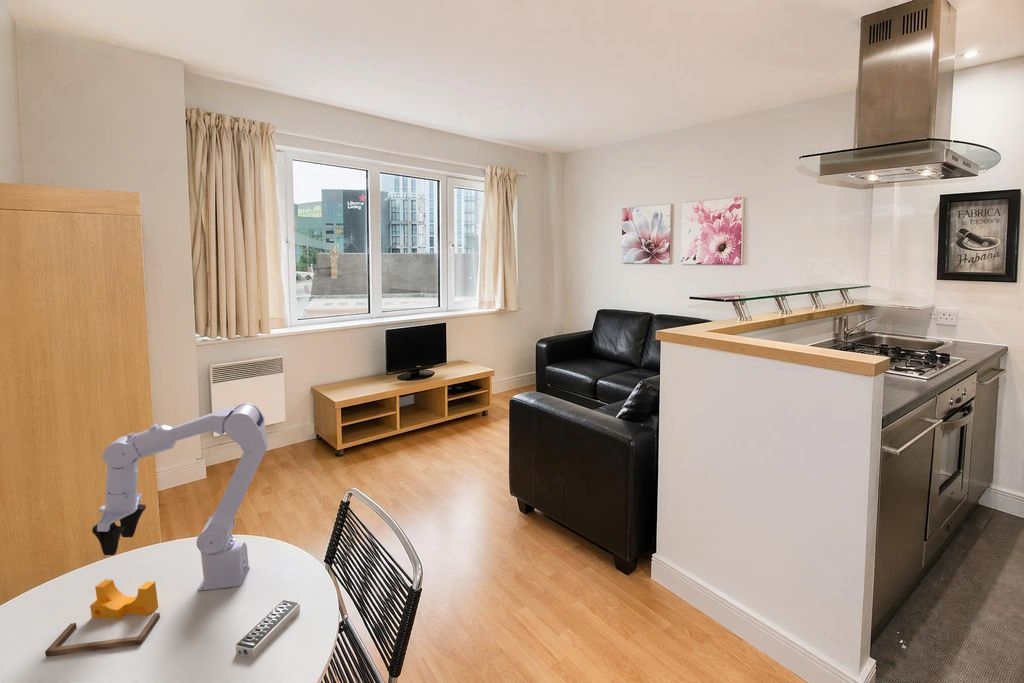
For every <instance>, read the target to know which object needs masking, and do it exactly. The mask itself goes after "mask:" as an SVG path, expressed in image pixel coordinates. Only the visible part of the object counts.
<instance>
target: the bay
mask: <svg viewBox="0 0 1024 683" xmlns="http://www.w3.org/2000/svg"><path fill="white" fill-rule="evenodd" d="M160 618H161V613H160V612H154V613H153V615H152V616H151V617H150V619H149V620H148V622H147V623H146V624H145V626H144V627H143V629H142V630H141V631H140V633H139V634H138V635H137V636H129V637H122V638H115V639H105V640H97V641H90V642H89V641H88V642H84V643H75V644H69V645H66V644H65V645H63V644H64V643H65V642H66V641H67V640H68V639H69V637H70V636H71V635H72V634H73V633H75V630H77V623H76V622H73V623H70V624H69V625H67V627H66V628H65V629H64V630H63V631H62V632H61V633H60V635H58V637H57V638H56V639H55V640H54V641H53V642H52V643H51V645H50V646H49V647H48V648H47V649H45V651H44V653H45V658H47V657H48V658H49V657H53V656H56V657H57V656H62V655H63V656H64V655H70V654H77V653H78V654H80V653H86V652H93V651H100V650H101V651H102V650H108V649H116V648H124V647H132V646H138V645H143V643H144V642H145V640H146V639H147V637H148V636H149V635H150V633H151V632H152V630H153V629H154V627H155V626H156V624H157V623H158V622H159V619H160Z"/></svg>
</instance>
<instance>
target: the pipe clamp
mask: <svg viewBox="0 0 1024 683" xmlns="http://www.w3.org/2000/svg"><path fill="white" fill-rule="evenodd" d="M94 589H95V594H96V600H95V601H93V602H92V603H91V604H90V605H89V606H90V607H89V608H90V614H91V618H92V619H108V620H109V619H111V620H120V619H122V618H123V617H124V616H125V615H139V616H140V615H142V616H145V615H146V616H150V615H152V613H153V612H154V613H155V611H156V610H157V609H158V608H159V602H158V592H157V586H156V581H145V582H144V583H143V584H142V585H140V587H138V588H137V596H129V595H126V594H123V593H122V592H121V591H120V590H119V589H118V588H117V587H116V584H115V582H114V580H113V579H107V578H105V579H104V580H102V581H101V582H100V583H98V584H97V585H95V586H94Z"/></svg>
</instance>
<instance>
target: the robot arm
mask: <svg viewBox="0 0 1024 683" xmlns="http://www.w3.org/2000/svg"><path fill="white" fill-rule="evenodd" d="M265 425H266V424H265V416H264V414H263V413H262V412H261V410H260V408H258V407H257V405H255V404H253V403H250V402H246V403H245V402H244V403H241V404H238V405H237V406H235V405H233V406H228V407H225V408H222V409H220V410H216V411H213V412H211V413H209V414H206V415H203V416H200V417H198V418H194V419H192V420H189V421H186V422H184V423H181V424H177V425H175V426H170V425H167V424H161V425H159V424H158V423H156V424H154V425H151V426H149V429H147V430H142V431H141V432H137V433H134V432H130V433H128V434H127V435H122V436H121V437H119V438H117V439H116V440H114V441H113V442H111V443H110V444H109V445H108V446H106V448H105V449H104V450H103V452H102V460H103V462H104V463H105V465H106V479H105V503H104V505H102V506H100V507H99V508H98V512H99V513H102V514H101V517H100V520H99V521H98V522H97V523H96V524H95V525H94V526H92V528H91V529H92V530H91V532H92V534H93V535H94V536H95V538H97V541H98V542H99V544H100V546H101V550H102V553H103V556H115V555H116V554H117V552H118V548H119V542H120V537H122V538H133V537H134V535H135V533H136V530H137V527H138V523H139V520H140V519H141V517H142V514H143V513H144V511H145V509H146V508H147V506H146V504H142V496H143V495H142V493H138V482H139V481H138V479H139V478H138V477H139V476H138V475H139V459H144V458H147V457H149V456H152V455H156V454H159V453H161V452H165V451H167V450H171V449H173V448H175V445H176V443H177V441H182V440H185V439H188V438H191V437H194V436H198V435H201V434H204V433H208V432H213V433H216V434H218V435H220V436H223V435H224V434H226V435H227V436H228V437H229V438H230V439H231V440H232V441H233V442H235V443H236V444H238V445H239V447H240V448H241V450H242V451H243V453H242V454H241V457H240V458H239V462H238V463H237V465H236V468H235V470H234V472H233V474H232V476H231V478H230V480H229V482H228V484H227V486H226V489H225V491H224V493H223V495H222V497H221V498H220V502H219V503H218V505H217V508H216V509H215V512H213V514H212V515H210V516H209V517H208V519H207V520H206V524H205V525H204V527H203V528H202V530H201V532H200V534H198V536H197V538H196V547H197V549H198V550H199V551H200V557H201V565H202V566H201V568H202V575H203V579H202V581H201V582H200V584H199V586H198V587H197V591H199V592H201V591H209V590H219V589H226V588H233V587H234V588H235V587H240V586H241V585H242V583H243V582H244V580H245V578H246V576H247V574H248V572H249V570H250V565H249V557H248V546H247V544H246V542H243V541H242V542H240V541H236V540H235V538H234V536H233V534H232V531H233V530H234V527H235V524H236V522H235V521H236V520H235V517H236V515H237V513H238V510H239V508H240V506H241V504H242V502H243V500H244V497H245V496H246V493H247V491H248V489H249V487H250V485H251V484H252V481H253V479H254V477H255V475H256V472H257V471H258V468H259V466H260V464H261V462H262V460H263V458H264V455H265V453H266V452H267V449H268V447H269V442H268V435H267V432H266V426H265ZM140 503H141V504H140ZM117 521H119V522H120V525H117V523H116V522H117Z"/></svg>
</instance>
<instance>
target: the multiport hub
mask: <svg viewBox="0 0 1024 683" xmlns="http://www.w3.org/2000/svg"><path fill="white" fill-rule="evenodd" d="M300 604H301V603H300V602H297V601H292V600H288V599H283V600H282V601H281V602H280V603H278V604H277V605H276V606H275V607H274V608H273V609H272V610H270V612H269V613H268V614H267V615H266V616H264V617H263V618H262V619H261V620H260V621H259V622H258V623H257V624H256V625H255V626H254V627H253V628H252V629H251V630H249V632H247V633H246V634H245V635H244V636H243V637H242V638H241V639H240V640H239V641H238V642H237V643H236V644H235V645H234V646H235V654H236V655H238V656H241V657H245V658H249V659H254V658H255V657H257V656H258V655H259V654H260V653H261V652H262V651H263V650H264V649H265V648H266V647H267V646H268V644H270V643H271V642H272V640H274V638H276V637H277V635H279V633H281V631H283V629H284V628H285V627H286V626H287V625H288V624H289V623H290V622H291V621H292V620H293V619H294V618H295V617H296V616H297V615H298V614H300V612H301V605H300Z"/></svg>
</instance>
